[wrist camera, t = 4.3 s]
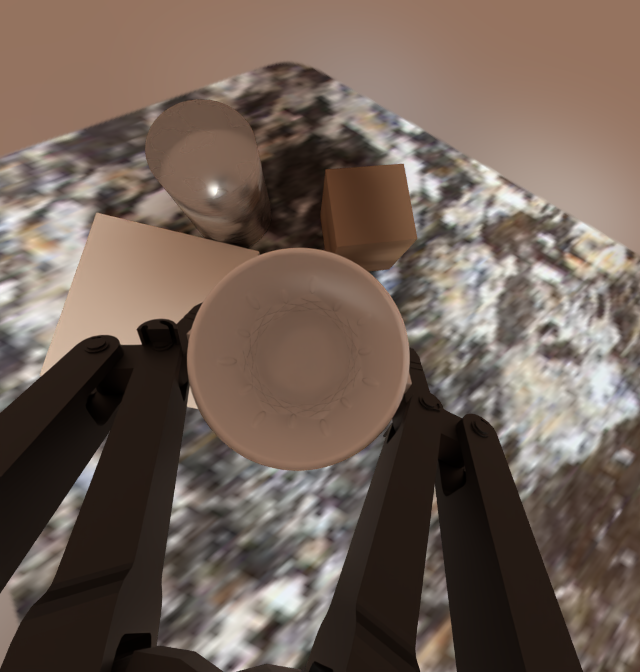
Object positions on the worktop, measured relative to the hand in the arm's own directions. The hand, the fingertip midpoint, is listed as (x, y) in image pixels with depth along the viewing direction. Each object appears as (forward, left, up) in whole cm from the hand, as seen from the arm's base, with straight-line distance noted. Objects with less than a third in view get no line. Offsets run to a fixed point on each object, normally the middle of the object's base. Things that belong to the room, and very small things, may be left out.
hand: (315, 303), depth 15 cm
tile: (+11, +2, -4) cm, 12 cm away
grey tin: (+8, -7, -4) cm, 11 cm away
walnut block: (-2, -7, -4) cm, 8 cm away
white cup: (0, +3, -4) cm, 5 cm away
